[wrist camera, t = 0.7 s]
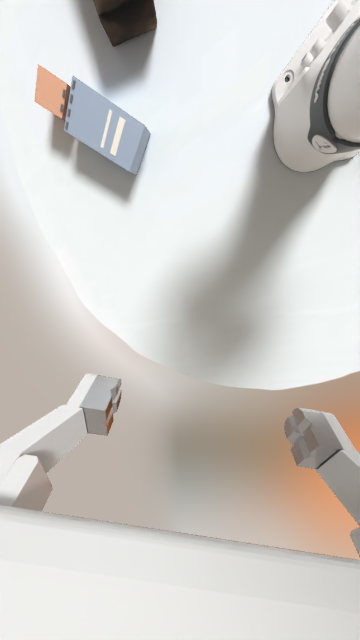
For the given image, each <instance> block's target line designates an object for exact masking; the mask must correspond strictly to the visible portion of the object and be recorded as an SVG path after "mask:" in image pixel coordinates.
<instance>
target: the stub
mask: <svg viewBox="0 0 360 640" xmlns="http://www.w3.org/2000/svg"><path fill="white" fill-rule="evenodd" d="M70 89H71V87H70V86H69V85H68V84H66V83H65V82H63V81H62V80H60V79H59V78H57V77H56V76H55V75H53V74H52V73H50V72H49V71H47V70H46V69H44V68H43V67H41V66H40V65H38V71H37V82H36V92H35V102H36V103H38V104H39V105H41V106H42V107H44V108H46V109H47V110H49V111H50V112H52V113H53V114H55V115H56V116H58V117H60V118H61V119H63V120H64V121H65V120H66V114H67V108H68V101H69V95H70Z"/></svg>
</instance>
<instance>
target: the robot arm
mask: <svg viewBox="0 0 360 640" xmlns="http://www.w3.org/2000/svg"><path fill="white" fill-rule="evenodd" d="M285 77H288V78H289V82H285ZM272 99H273V104H274V108H275V120H274V130H273V136H274V145H275V149H276V152H277V154H278V156H279V158H280V160H281V161H282V162H283V163H284V164H285V165H286V166H287V167H288V168H290V169H292V170H294V171H298V172H310V171H314V170H317V169H320V168H322V167H324V166H326V165H328V164H329V163H331V162H333V161H336V160H345V159H349V158H352V157H354V156H356V155H357V154H358V153H359V152H360V0H334V2H333V3H332V4H331V6H330V7H329V9H328V10H327V11H326V13H325V14H324V15H323V17H322V18H321V20H320V21H319V22H318V24H317V25H316V26H315V28H314V29H313V30H312V32H311V33H310V35H309V36H308V37H307V39H306V40H305V41H304V43H303V44H302V46H301V47H300V48H299V50H298V51H297V52H296V54H295V55H294V57H293V58H292V59H291V61H290V62H289V63H288V65H287V66H286V68H285V69H284V70H283V72H282V73H281V74H280V76H279V77H278V78H277V80H276V81H275V83H274V85H273V88H272ZM120 386H121V379H117V378H111V377H106V376H101V375H96V374H90V373H87V374H86V375H85V376H84V377H83V379H82V380H81V382H80V383H79V385H78V387H77V389H76V390H75V391H74V393H73V395H72V396H71V398H70V399H69V401H68V403H67V404H66V405H61V406H60V407H58V408H56V409H55V410H53V411H52V412H50V413H48V414H47V415H45V416H44V417H42V418H41V419H39V420H37V421H36V422H34V423H33V424H31V425H30V426H28V427H27V428H25V429H23V430H22V431H20V432H19V433H17V434H16V435H14V436H12V437H11V438H9V439H8V440H6V441H5V442H3V443H2V444H0V640H360V560H356V559H349V558H343V557H337V556H330V555H324V554H317V553H311V552H304V551H297V550H291V549H284V548H278V547H271V546H265V545H258V544H251V543H245V542H239V541H232V540H226V539H219V538H212V537H206V536H199V535H193V534H186V533H180V532H173V531H167V530H160V529H153V528H147V527H141V526H134V525H128V524H120V523H114V522H108V521H101V520H95V519H88V518H82V517H75V516H68V515H62V514H55V513H49V512H42V510H43V508H44V506H45V504H46V501H47V499H48V497H49V495H50V493H51V491H52V484H51V482H50V480H49V479H48V477H47V475H46V473H47V472H48V471H49V470H50V469H51V468H52V467H53V466H54V465H55V464H57V463H58V461H60V460H61V459H62V458H63V457H64V456H65V455H66V454H67V453H68V452H69V451H70V450H71V449H72V448H74V447H75V446H76V445H77V444H78V443H79V442H80V441H81V440H82V439H83V438H84V437H85V436H87V434H88V433H91V434H99V435H106V436H107V435H108V433H109V430H110V428H111V425H112V423H113V414H114V413H115V412H116V411H117V409H118V407H119V403H120V399H121V390H120ZM292 413H293V416H290V417H288V418H287V420H286V421H285V425H284V430H285V434H286V437H287V439H288V440H289V441H290V443H291V444H292V447H291V451H292V454H293V456H294V459H295V462H296V465H297V466H300V467H305V468H311V469H316V471H317V473H318V474H319V475H320V476H321V478H322V479H323V480H324V481H325V482H326V484H327V485H328V486H329V488H330V489H331V490H332V491H333V493H334V494H335V495H336V497H337V498H338V499H339V500H340V502H341V503H342V504H343V505H344V507H345V508H346V509H347V511H348V512H349V513H350V514H351V516H352V517H353V518H354V519H355V521H356V522H357V523H358V524H359V526H360V453H358V452H357V451H356V450H355V448H354V446H353V445H352V443H351V442H350V440H349V438H348V437H347V435H346V434H345V432H344V430H343V429H342V427H341V426H340V424H339V422H338V421H337V419H336V418H335V416H334V415H333V414H331V413H327V412H321V411H316V410H309V409H303V408H296V409H294V410H293V412H292ZM350 536H351V538H352V541H353V543H354V545H355V547H356V550H357V552H358V554H359V557H360V527H359V528H357V529H354V530H352V531H351V533H350Z"/></svg>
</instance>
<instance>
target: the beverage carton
mask: <svg viewBox="0 0 360 640" xmlns="http://www.w3.org/2000/svg"><path fill="white" fill-rule="evenodd" d="M94 3H95V6H96V9H97V12H98V16H99V19H100V21H101V23H102V25H103V27H104V29H105V31H106V33H107V35H108V37H109V39H110V41H111V43H112V45H113V46H116V45H118V44H121V43H122V42H124V41H126V40H129V39H131V38H133V37H136V36H139V35H141V34H143V33H146V32H147V31H150V30H152V29H155V28H156V27H157V18H156V12H155V6H154V0H94Z"/></svg>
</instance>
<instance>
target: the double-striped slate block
mask: <svg viewBox="0 0 360 640" xmlns="http://www.w3.org/2000/svg"><path fill="white" fill-rule="evenodd" d="M64 131H65V132H67V133H68V134H70V135H72V136H73V137H75V138H76V139H78V140H80V141H81V142H83V143H84V144H86V145H87V146H89V147H91V148H92V149H94V150H95V151H97V152H99V153H100V154H102V155H103V156H105V157H106V158H108V159H110V160H111V161H113V162H114V163H116V164H117V165H119V166H121V167H122V168H124V169H125V170H127V171H129V172H131V173H133V174H135V175H137V172H138V170H139V167H140V164H141V161H142V158H143V155H144V152H145V149H146V146H147V143H148V140H149V137H150V132H149V131H148V129H147V128H146V127H145V125H143V124H142V123H141V122H139V121H138V120H136V119H135V118H133V117H132V116H130V115H129V114H128V113H126V112H125V111H123V110H122V109H120V108H119V107H117V106H116V105H115V104H113V103H112V102H110V101H109V100H107V99H106V98H104V97H103V96H102V95H100V94H99V93H97V92H96V91H94V90H93V89H91V88H90V87H89V86H87V85H86V84H84V83H83V82H81V81H80V80H78V79H77V78H76V77H74V76H73V77H72V83H71V89H70V95H69V101H68V108H67V114H66V120H65V126H64Z"/></svg>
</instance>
